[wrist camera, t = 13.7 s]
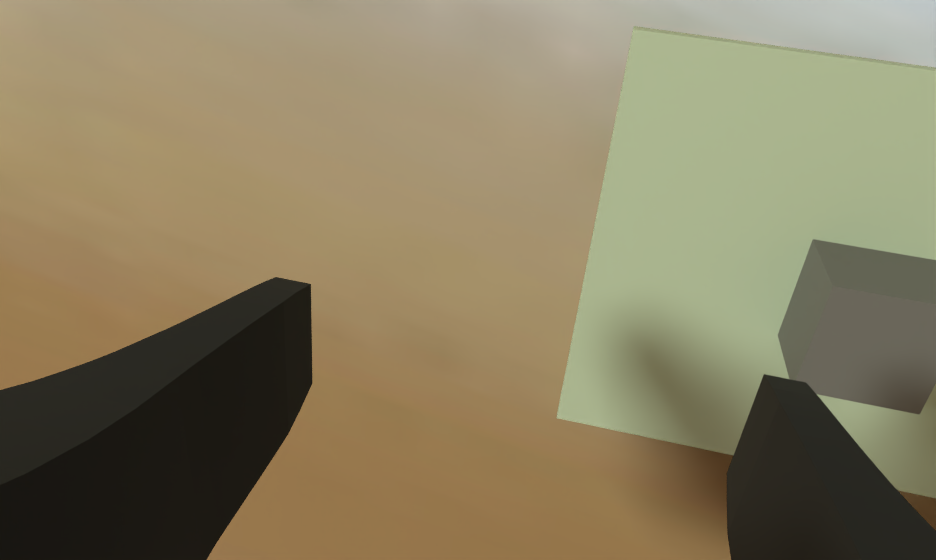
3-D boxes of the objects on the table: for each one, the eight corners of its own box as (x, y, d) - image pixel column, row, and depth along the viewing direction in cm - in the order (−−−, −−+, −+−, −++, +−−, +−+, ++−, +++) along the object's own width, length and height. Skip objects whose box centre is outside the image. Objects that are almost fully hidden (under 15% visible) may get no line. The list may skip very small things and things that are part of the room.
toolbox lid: (946, 479, 23) (991, 571, 20) (560, 398, 24) (547, 473, 22) (1166, 94, 17) (1279, 143, 14) (634, 21, 18) (631, 51, 15)
